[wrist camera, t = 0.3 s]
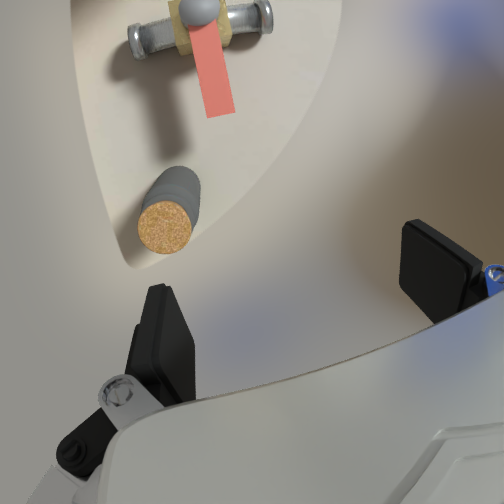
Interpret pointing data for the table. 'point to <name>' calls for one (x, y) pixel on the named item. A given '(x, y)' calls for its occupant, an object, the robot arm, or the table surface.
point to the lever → (208, 54)
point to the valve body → (178, 35)
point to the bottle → (170, 211)
